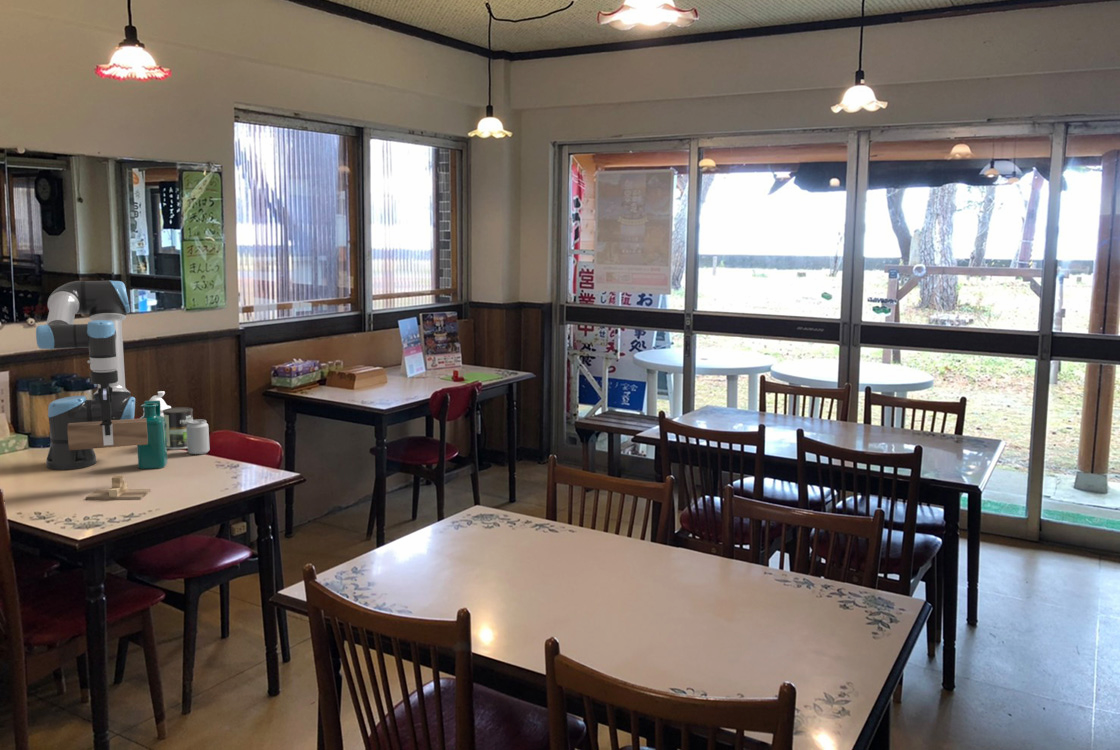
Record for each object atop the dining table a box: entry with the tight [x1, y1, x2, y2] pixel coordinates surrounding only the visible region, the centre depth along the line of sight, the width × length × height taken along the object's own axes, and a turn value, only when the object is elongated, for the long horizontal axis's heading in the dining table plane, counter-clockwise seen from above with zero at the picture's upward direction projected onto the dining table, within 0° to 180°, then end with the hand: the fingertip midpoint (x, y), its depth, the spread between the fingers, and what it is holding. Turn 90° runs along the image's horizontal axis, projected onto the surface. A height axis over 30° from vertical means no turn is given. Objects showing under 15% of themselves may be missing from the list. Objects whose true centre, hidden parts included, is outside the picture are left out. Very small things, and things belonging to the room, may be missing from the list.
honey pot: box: [141, 390, 172, 417], centre depth 346 cm, size 13×13×18 cm
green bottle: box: [136, 400, 169, 470], centre depth 305 cm, size 10×8×22 cm
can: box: [186, 419, 211, 456], centre depth 324 cm, size 8×8×12 cm
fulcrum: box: [85, 474, 152, 501], centre depth 272 cm, size 8×16×6 cm, turn 95°
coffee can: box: [163, 406, 194, 450], centre depth 332 cm, size 10×10×14 cm
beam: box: [67, 418, 148, 450], centre depth 279 cm, size 5×22×8 cm, turn 114°
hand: (108, 442), depth 280 cm, fingers closed on beam, 5 cm apart
